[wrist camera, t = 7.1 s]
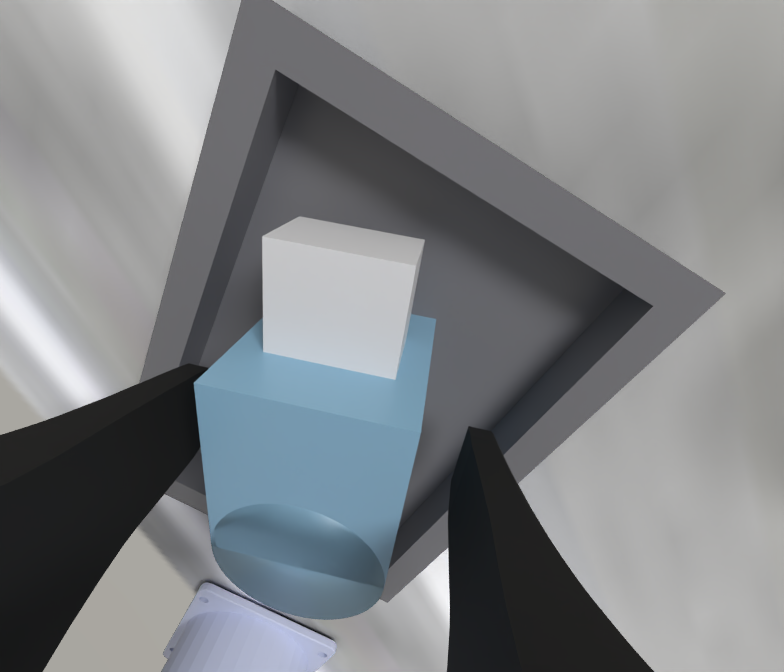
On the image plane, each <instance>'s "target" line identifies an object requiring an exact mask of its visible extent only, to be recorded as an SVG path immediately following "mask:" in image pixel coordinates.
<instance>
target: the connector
mask: <svg viewBox="0 0 784 672" xmlns="http://www.w3.org/2000/svg"><path fill="white" fill-rule="evenodd" d="M424 242H425V240H424V239H418V238H413V237H408V236H402V235H397V234H392V233H386V232H381V231H376V230H370V229H365V228H359V227H354V226H349V225H343V224H338V223H333V222H327V221H322V220H317V219H311V218H306V217H301V216H299V217H297V218H295V219H293V220H292V221H290V222H288V223H286V224H284V225H282V226H280V227H279V228H277V229H275V230H273V231H271V232H269V233H267V234H266V235H264V236H262V273H263V318H262V319H261V320H260V321H259V322H257V323H256V324H255V325H254V326H253V327H252V328H251V329H250V330H249V331H248V332H247V333H246V334H245V335H244V336H243V337H242V338H241V339H240V340H238V341H237V342H236V343H235V344H234V345H233V346H232V347H231V348H230V349H229V350H228V351H227V352H226V353H225V354H224V355H223V356H222V357H221V358H219V359H218V360H217V361H216V362H215V363H214V364H213V365H212V366H211V367H210V368H209V369H208V370H207V371H206V372H205V373H204V374H203V375H202V376H200V377H199V378H198V379H197V380H196V381H195V382H194V391H195V400H196V409H197V418H198V427H199V436H200V445H201V454H202V463H203V472H204V481H205V491H206V500H207V509H208V518H209V527H210V536H211V545H212V550H213V554H214V557H215V559H216V562H217V563H218V565H219V567H220V568H221V570H222V571H223V572H224V574H225V575H226V576H227V577H228V578H229V579H230V580H231V582H233V583H234V584H235V585H236V586H237V587H238V588H239V589H241V590H242V591H243V592H245V593H246V594H248V595H249V596H251V597H252V598H254V599H255V600H257V601H259V602H261V603H263V604H265V605H267V606H269V607H271V608H274V609H276V610H279V611H282V612H285V613H288V614H292V615H295V616H300V617H305V618H312V619H323V620H328V619H342V618H347V617H352V616H355V615H358V614H360V613H363V612H365V611H367V610H368V609H369V608H371V607H372V606H373V605H374V604H375V603H376V602H377V601H378V600H379V598H380V597H381V595H382V592H383V590H384V586H385V582H386V578H387V573H388V569H389V565H390V561H391V556H392V552H393V548H394V544H395V540H396V535H397V531H398V527H399V523H400V519H401V514H402V510H403V506H404V502H405V498H406V493H407V489H408V485H409V481H410V477H411V472H412V468H413V464H414V460H415V456H416V451H417V447H418V443H419V439H420V435H421V429H422V421H423V414H424V406H425V399H426V391H427V384H428V377H429V369H430V362H431V354H432V347H433V339H434V332H435V324H436V319H434V318H429V317H424V316H419V315H414V314H411V311H412V306H413V301H414V295H415V290H416V285H417V279H418V274H419V269H420V263H421V258H422V253H423V247H424Z"/></svg>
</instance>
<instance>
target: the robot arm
mask: <svg viewBox="0 0 784 672" xmlns="http://www.w3.org/2000/svg"><path fill="white" fill-rule="evenodd" d="M208 369H209V368H208V367H203V366H199V365H194V364H190V363H188V364H185V365H183V366H180V367H177V368H175V369H172V370H170V371H167V372H165V373H163V374H160V375H158V376H156V377H153V378H151V379H149V380H146V381H144V382H142V383H139V384H137V385H134V386H132V387H130V388H127V389H125V390H123V391H120V392H118V393H116V394H113V395H111V396H108V397H106V398H104V399H101V400H98V401H96V402H93V403H91V404H88V405H85V406H83V407H80V408H78V409H75V410H72V411H70V412H67V413H65V414H62V415H59V416H57V417H54V418H51V419H48V420H46V421H43V422H40V423H37V424H34V425H31V426H28V427H25V428H22V429H18V430H15V431H12V432H9V433H6V434H2V435H0V672H43V670H44V668H45V667H46V665H47V663H48V662H49V660H50V658H51V657H52V655H53V653H54V652H55V650H56V648H57V647H58V645H59V643H60V642H61V640H62V638H63V637H64V635H65V634H66V632H67V630H68V629H69V627H70V625H71V624H72V622H73V620H74V619H75V617H76V616H77V614H78V613H79V611H80V610H81V608H82V607H83V605H84V603H85V602H86V600H87V599H88V597H89V596H90V594H91V593H92V591H93V589H94V588H95V586H96V585H97V583H98V582H99V580H100V579H101V577H102V576H103V574H104V573H105V571H106V570H107V568H108V567H109V566H110V564H111V563H112V561H113V559H114V558H115V557H116V555H117V554H118V552H119V551H120V549H121V548H122V546H123V545H124V543H125V542H126V541H127V540H128V538H129V537H130V536H131V534H132V533H133V532H134V530H135V529H136V528H137V526H138V525H139V524H140V523H141V522H142V520H143V519H144V518H145V517H146V516H147V514H148V513H149V512H150V511H151V509H152V508H153V507H154V506H155V505H156V503H157V502H158V501H159V500H160V498H161V497H162V496H163V495H164V494H165V492H166V491H167V490H168V489H169V487H170V486H171V485H172V484H173V483H174V481H175V480H176V479H177V478H178V476H179V475H180V474H181V473H182V471H183V470H184V469H185V468H186V467H187V465H188V464H189V463H190V461H191V460H192V459H193V458H194V456H195V455H196V453H197V452H198V450H199V449H200V447H201V445H200V436H199V427H198V418H197V409H196V400H195V391H194V382H195V381H196V380H197V379H198V378H199V377H200V376H202V375H203V374H204V373H205V372H206V371H207V370H208ZM448 550H449V588H450V632H449V649H448V665H447V672H654V671H653V670H652V669H651V668H650V667H649V666H648V665H647V663H646V662H645V661H644V660H643V659H642V658H641V657H640V656H639V654H638V653H637V652H636V651H635V650H634V649H633V648H632V646H631V645H630V644H629V643H628V642H627V641H626V639H625V638H624V637H623V636H622V635H621V633H620V632H619V631H618V630H617V629H616V627H615V626H614V625H613V624H612V622H611V621H610V620H609V619H608V618H607V616H606V615H605V614H604V613H603V611H602V610H601V609H600V608H599V607H598V605H597V604H596V603H595V602H594V600H593V599H592V598H591V597H590V595H589V594H588V593H587V591H586V590H585V589H584V587H583V586H582V585H581V583H580V582H579V581H578V579H577V578H576V577H575V575H574V574H573V572H572V571H571V570H570V568H569V567H568V565H567V564H566V563H565V561H564V560H563V558H562V557H561V555H560V554H559V552H558V551H557V549H556V548H555V546H554V545H553V543H552V542H551V540H550V539H549V537H548V535H547V534H546V532H545V530H544V529H543V527H542V526H541V524H540V522H539V521H538V519H537V517H536V516H535V514H534V512H533V511H532V509H531V507H530V505H529V504H528V502H527V500H526V498H525V496H524V494H523V493H522V491H521V489H520V487H519V485H518V483H517V482H516V480H515V478H514V476H513V474H512V472H511V470H510V468H509V466H508V464H507V462H506V460H505V458H504V455H503V453H502V451H501V449H500V447H499V445H498V443H497V440H496V438H495V436H494V434H493V433H492V431H488V430H484V429H479V428H475V427H471V426H468V429H467V432H466V436H465V439H464V442H463V445H462V448H461V451H460V454H459V457H458V460H457V463H456V467H455V470H454V473H453V476H452V479H451V486H450V497H449V509H448ZM336 648H337V645H336V643H335V642H334V641H333V640H331V639H329V638H327V637H325V636H323V635H320V634H318V633H316V632H314V631H312V630H310V629H308V628H306V627H303V626H301V625H299V624H297V623H295V622H293V621H291V620H289V619H286V618H284V617H282V616H280V615H278V614H276V613H274V612H271V611H269V610H267V609H265V608H263V607H261V606H259V605H257V604H254V603H252V602H250V601H248V600H246V599H244V598H242V597H240V596H237V595H235V594H233V593H231V592H229V591H227V590H225V589H222V588H220V587H218V586H216V585H214V584H211V583H203V584H202V585H201V586H200V588H199V590H198V592H197V593H196V595H195V597H194V599H193V601H192V602H191V604H190V606H189V608H188V609H187V611H186V613H185V615H184V617H183V618H182V620H181V622H180V623H179V625H178V627H177V629H176V631H175V632H174V634H173V636H172V638H171V640H170V641H169V643H168V645H167V646H166V648H165V650H164V652H163V655H164V657H166V658H167V659H168V660H167V662H166V664H165V666H164V667H163V669H162V671H161V672H315V671H316V670H318V669H319V668H320V667H321V666H322V665H323V664H324V663H325V662H326V661H327V660H329V659H330V658H331V657H332V656H333V655H334V654H335V652H336Z"/></svg>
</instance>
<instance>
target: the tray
mask: <svg viewBox="0 0 784 672" xmlns="http://www.w3.org/2000/svg"><path fill="white" fill-rule="evenodd" d="M299 216H301V217H306V218H311V219H317V220H322V221H327V222H333V223H338V224H343V225H349V226H354V227H359V228H365V229H370V230H376V231H381V232H386V233H392V234H397V235H402V236H408V237H413V238H418V239H424V240H425V242H424V247H423V253H422V258H421V263H420V269H419V274H418V279H417V285H416V290H415V295H414V301H413V306H412V311H411V314H414V315H419V316H424V317H429V318H434V319H436V324H435V332H434V339H433V347H432V354H431V362H430V369H429V377H428V384H427V391H426V399H425V406H424V414H423V421H422V429H421V435H420V439H419V443H418V447H417V451H416V456H415V460H414V464H413V468H412V472H411V477H410V481H409V485H408V489H407V493H406V498H405V502H404V506H403V510H402V514H401V519H400V523H399V527H398V531H397V535H396V540H395V544H394V548H393V552H392V556H391V561H390V565H389V569H388V573H387V578H386V582H385V586H384V590H383V592H382V595H381V597H380V598H379V599H381V600H383V601H385V602H387V603H388V602H389V601H390V600H391V599H392V598H393V597H394V596H395V595H396V594H397V593H399V592H400V591H401V590H402V589H403V588H404V587H405V586H406V585H407V584H408V583H409V582H411V581H412V580H413V579H414V578H415V577H416V576H417V575H418V574H419V573H420V572H422V571H423V570H424V569H425V568H426V567H427V566H428V565H429V564H430V563H431V562H432V561H434V560H435V559H436V558H437V557H438V556H439V555H440V554H441V553H442V552H443V551H444V550H446V549H447V548H448V509H449V497H450V486H451V479H452V476H453V473H454V470H455V467H456V463H457V460H458V457H459V454H460V451H461V448H462V445H463V442H464V439H465V436H466V432H467V429H468V426H471V427H475V428H479V429H484V430H488V431H492V433H493V434H494V436H495V438H496V440H497V443H498V445H499V447H500V449H501V451H502V453H503V455H504V458H505V460H506V462H507V464H508V466H509V468H510V470H511V472H512V474H513V476H514V478H515V480H516V482H517V483H519V482H520V481H521V480H522V479H523V478H524V477H525V476H527V475H528V474H529V473H530V472H531V471H532V470H533V469H534V468H535V467H536V466H538V465H539V464H540V463H541V462H542V461H543V460H544V459H545V458H546V457H547V456H548V455H550V454H551V453H552V452H553V451H554V450H555V449H556V448H557V447H558V446H559V445H560V444H562V443H563V442H564V441H565V440H566V439H567V438H568V437H569V436H570V435H571V434H573V433H574V432H575V431H576V430H577V429H578V428H579V427H580V426H581V425H582V424H583V423H585V422H586V421H587V420H588V419H589V418H590V417H591V416H592V415H593V414H594V413H596V412H597V411H598V410H599V409H600V408H601V407H602V406H603V405H604V404H605V403H606V402H608V401H609V400H610V399H611V398H612V397H613V396H614V395H615V394H616V393H617V392H618V391H620V390H621V389H622V388H623V387H624V386H625V385H626V384H627V383H628V382H629V381H631V380H632V379H633V378H634V377H635V376H636V375H637V374H638V373H639V372H640V371H641V370H643V369H644V368H645V367H646V366H647V365H648V364H649V363H650V362H651V361H652V360H654V359H655V358H656V357H657V356H658V355H659V354H660V353H661V352H662V351H663V350H664V349H666V348H667V347H668V346H669V345H670V344H671V343H672V342H673V341H674V340H675V339H677V338H678V337H679V336H680V335H681V334H682V333H683V332H684V331H685V330H686V329H687V328H689V327H690V326H691V325H692V324H693V323H694V322H695V321H696V320H697V319H698V318H699V317H701V316H702V315H703V314H704V313H705V312H706V311H707V310H708V309H709V308H710V307H712V306H713V305H714V304H715V303H716V302H717V301H718V300H719V299H720V298H721V297H722V296H724V295H725V294H726V293H725V292H723V291H722V290H720V289H718V288H717V287H715V286H714V285H712V284H711V283H709V282H708V281H706V280H704V279H703V278H701V277H700V276H698V275H697V274H695V273H694V272H692V271H691V270H689V269H687V268H686V267H684V266H683V265H681V264H680V263H678V262H677V261H675V260H674V259H672V258H670V257H669V256H667V255H666V254H664V253H663V252H661V251H660V250H658V249H656V248H655V247H653V246H652V245H650V244H649V243H647V242H646V241H644V240H643V239H641V238H639V237H638V236H636V235H635V234H633V233H632V232H630V231H629V230H627V229H625V228H624V227H622V226H621V225H619V224H618V223H616V222H615V221H613V220H612V219H610V218H608V217H607V216H605V215H604V214H602V213H601V212H599V211H598V210H596V209H595V208H593V207H591V206H590V205H588V204H587V203H585V202H584V201H582V200H581V199H579V198H577V197H576V196H574V195H573V194H571V193H570V192H568V191H567V190H565V189H564V188H562V187H560V186H559V185H557V184H556V183H554V182H553V181H551V180H550V179H548V178H546V177H545V176H543V175H542V174H540V173H539V172H537V171H536V170H534V169H533V168H531V167H529V166H528V165H526V164H525V163H523V162H522V161H520V160H519V159H517V158H516V157H514V156H512V155H511V154H509V153H508V152H506V151H505V150H503V149H502V148H500V147H498V146H497V145H495V144H494V143H492V142H491V141H489V140H488V139H486V138H485V137H483V136H481V135H480V134H478V133H477V132H475V131H474V130H472V129H471V128H469V127H467V126H466V125H464V124H463V123H461V122H460V121H458V120H457V119H455V118H454V117H452V116H450V115H449V114H447V113H446V112H444V111H443V110H441V109H440V108H438V107H437V106H435V105H433V104H432V103H430V102H429V101H427V100H426V99H424V98H423V97H421V96H419V95H418V94H416V93H415V92H413V91H412V90H410V89H409V88H407V87H406V86H404V85H402V84H401V83H399V82H398V81H396V80H395V79H393V78H392V77H390V76H388V75H387V74H385V73H384V72H382V71H381V70H379V69H378V68H376V67H375V66H373V65H371V64H370V63H368V62H367V61H365V60H364V59H362V58H361V57H359V56H358V55H356V54H354V53H353V52H351V51H350V50H348V49H347V48H345V47H344V46H342V45H340V44H339V43H337V42H336V41H334V40H333V39H331V38H330V37H328V36H327V35H325V34H323V33H322V32H320V31H319V30H317V29H316V28H314V27H313V26H311V25H309V24H308V23H306V22H305V21H303V20H302V19H300V18H299V17H297V16H296V15H294V14H292V13H291V12H289V11H288V10H286V9H285V8H283V7H282V6H280V5H279V4H277V3H275V2H274V1H272V0H241V4H240V8H239V12H238V15H237V19H236V23H235V27H234V30H233V34H232V38H231V42H230V45H229V49H228V53H227V57H226V60H225V64H224V68H223V72H222V75H221V79H220V83H219V87H218V90H217V94H216V98H215V102H214V105H213V109H212V113H211V117H210V120H209V124H208V128H207V132H206V135H205V139H204V143H203V147H202V150H201V154H200V158H199V162H198V165H197V169H196V173H195V177H194V180H193V184H192V188H191V192H190V195H189V199H188V203H187V207H186V210H185V214H184V218H183V221H182V225H181V229H180V233H179V236H178V240H177V244H176V248H175V251H174V255H173V259H172V263H171V266H170V270H169V274H168V278H167V281H166V285H165V289H164V293H163V296H162V300H161V304H160V308H159V311H158V315H157V319H156V323H155V326H154V330H153V334H152V338H151V341H150V345H149V349H148V353H147V356H146V360H145V364H144V368H143V371H142V375H141V379H140V383H142V382H144V381H146V380H149V379H151V378H153V377H156V376H158V375H160V374H163V373H165V372H167V371H170V370H172V369H175V368H177V367H180V366H183V365H185V364H188V363H190V364H194V365H199V366H203V367H208V368H210V367H211V366H212V365H213V364H214V363H215V362H216V361H217V360H218V359H219V358H221V357H222V356H223V355H224V354H225V353H226V352H227V351H228V350H229V349H230V348H231V347H232V346H233V345H234V344H235V343H236V342H237V341H238V340H240V339H241V338H242V337H243V336H244V335H245V334H246V333H247V332H248V331H249V330H250V329H251V328H252V327H253V326H254V325H255V324H256V323H257V322H259V321H260V320H261V319H262V318H263V273H262V236H264V235H266V234H267V233H269V232H271V231H273V230H275V229H277V228H279V227H280V226H282V225H284V224H286V223H288V222H290V221H292V220H293V219H295V218H297V217H299ZM165 494H166V495H168V496H170V497H172V498H174V499H176V500H178V501H180V502H183V503H185V504H187V505H189V506H191V507H193V508H195V509H197V510H199V511H201V512H203V513H205V514H207V515H208V509H207V500H206V491H205V481H204V472H203V463H202V454H201V447H200V449H199V450H198V452H197V453H196V455H195V456H194V458H193V459H192V460H191V461H190V463H189V464H188V465H187V467H186V468H185V469H184V470H183V471H182V473H181V474H180V475H179V476H178V478H177V479H176V480H175V481H174V483H173V484H172V485H171V486H170V487H169V489H168V490H167V491H166V492H165Z"/></svg>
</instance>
